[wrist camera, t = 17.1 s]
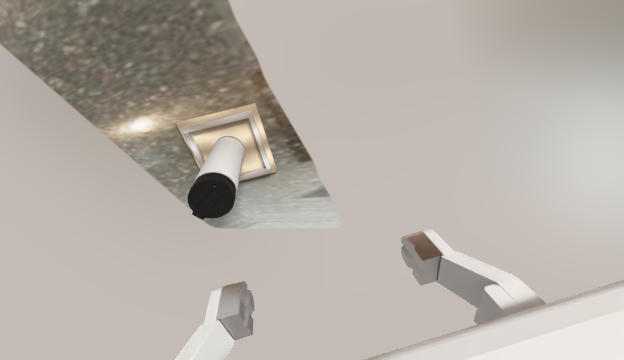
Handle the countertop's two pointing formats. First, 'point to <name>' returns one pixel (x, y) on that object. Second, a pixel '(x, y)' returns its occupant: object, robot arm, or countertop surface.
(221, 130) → the square metal tray
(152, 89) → the countertop surface
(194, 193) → the travel mug
